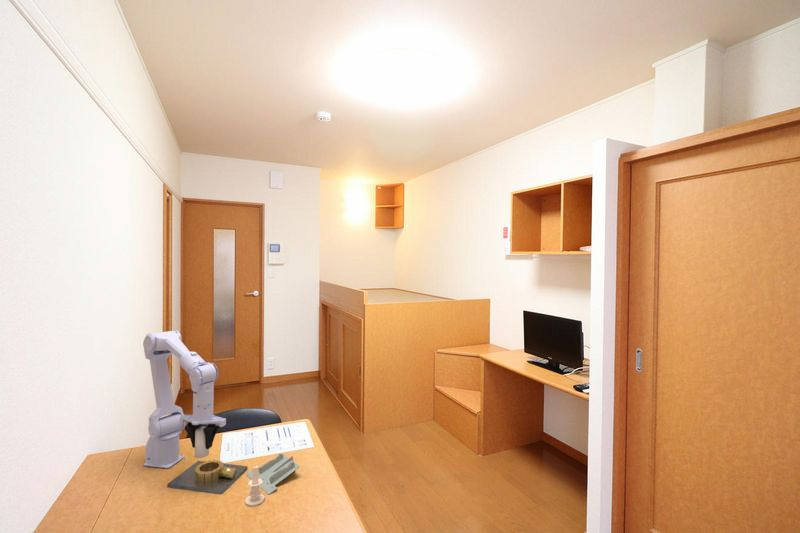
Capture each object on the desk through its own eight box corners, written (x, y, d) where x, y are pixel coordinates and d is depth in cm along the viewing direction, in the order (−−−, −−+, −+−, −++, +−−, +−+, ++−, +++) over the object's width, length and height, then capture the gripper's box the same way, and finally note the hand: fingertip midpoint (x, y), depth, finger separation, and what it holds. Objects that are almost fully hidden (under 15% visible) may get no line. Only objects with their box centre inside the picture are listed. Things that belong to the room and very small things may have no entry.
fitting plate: (167, 487, 116) (167, 474, 116) (198, 463, 130) (198, 452, 130) (221, 494, 113) (222, 481, 113) (247, 469, 127) (247, 457, 127)
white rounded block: (191, 457, 118) (192, 431, 118) (200, 451, 122) (201, 426, 122) (203, 458, 118) (203, 432, 118) (211, 452, 122) (212, 427, 122)
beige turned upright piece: (241, 501, 110) (242, 465, 110) (257, 493, 114) (258, 458, 114) (251, 508, 107) (252, 471, 107) (268, 500, 111) (269, 464, 111)
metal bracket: (280, 445, 133) (304, 462, 122) (284, 460, 134) (308, 477, 123) (241, 472, 123) (263, 492, 112) (245, 487, 124) (268, 509, 114)
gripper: (173, 406, 117) (172, 450, 117) (216, 410, 115) (215, 455, 115) (189, 398, 124) (188, 440, 124) (230, 402, 122) (229, 444, 122)
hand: (202, 446), depth 120 cm, fingers closed on white rounded block, 4 cm apart
